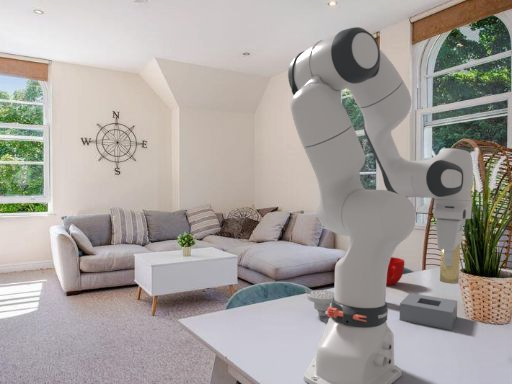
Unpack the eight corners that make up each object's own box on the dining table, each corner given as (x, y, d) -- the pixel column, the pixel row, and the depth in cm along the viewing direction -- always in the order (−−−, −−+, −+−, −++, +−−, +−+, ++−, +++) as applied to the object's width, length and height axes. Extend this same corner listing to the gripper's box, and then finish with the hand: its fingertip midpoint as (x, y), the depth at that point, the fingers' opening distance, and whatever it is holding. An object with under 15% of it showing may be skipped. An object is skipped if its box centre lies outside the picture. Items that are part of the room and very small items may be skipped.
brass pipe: (457, 284, 99) (459, 245, 98) (438, 281, 101) (440, 243, 101) (459, 281, 102) (461, 243, 102) (441, 278, 105) (442, 241, 105)
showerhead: (306, 286, 125) (338, 288, 123) (305, 308, 125) (337, 311, 123) (303, 294, 116) (338, 296, 114) (303, 318, 116) (337, 321, 114)
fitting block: (451, 330, 109) (452, 312, 109) (399, 319, 116) (400, 303, 116) (456, 316, 121) (457, 300, 120) (409, 308, 128) (409, 293, 128)
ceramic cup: (378, 289, 150) (378, 263, 150) (367, 279, 167) (368, 256, 167) (412, 290, 150) (412, 265, 150) (397, 280, 167) (398, 256, 167)
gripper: (444, 209, 112) (442, 257, 112) (432, 211, 95) (430, 268, 95) (469, 210, 108) (466, 260, 109) (462, 213, 91) (459, 271, 91)
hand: (449, 263), depth 102 cm, fingers closed on brass pipe, 4 cm apart
